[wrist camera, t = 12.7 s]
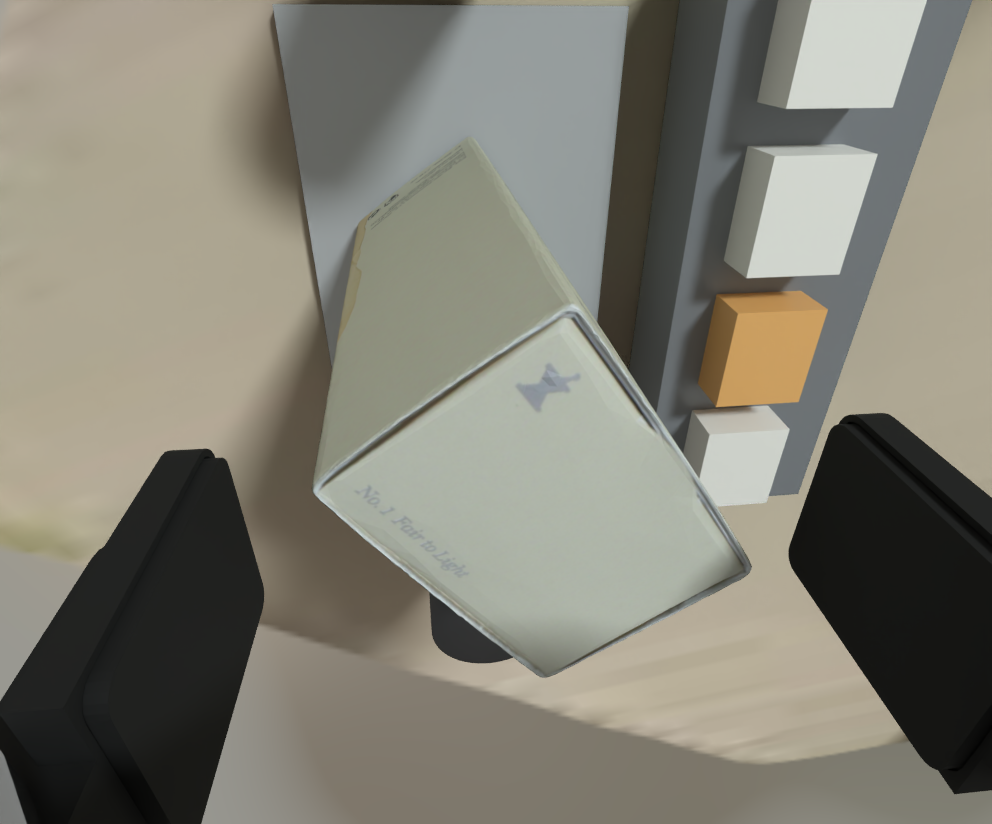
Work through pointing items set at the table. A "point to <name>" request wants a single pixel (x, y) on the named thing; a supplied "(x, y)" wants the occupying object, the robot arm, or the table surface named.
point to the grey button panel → (678, 183)
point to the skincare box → (505, 432)
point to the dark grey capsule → (461, 636)
